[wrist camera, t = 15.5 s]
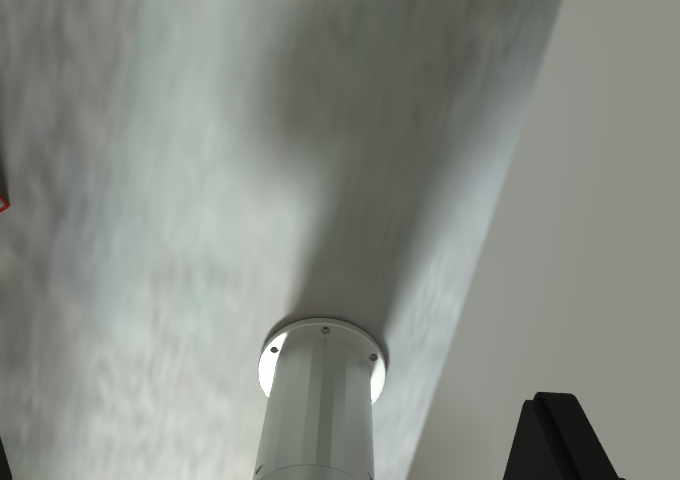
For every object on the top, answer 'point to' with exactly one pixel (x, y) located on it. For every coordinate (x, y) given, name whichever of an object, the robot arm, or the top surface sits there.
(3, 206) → the stack of blocks
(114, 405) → the top surface
